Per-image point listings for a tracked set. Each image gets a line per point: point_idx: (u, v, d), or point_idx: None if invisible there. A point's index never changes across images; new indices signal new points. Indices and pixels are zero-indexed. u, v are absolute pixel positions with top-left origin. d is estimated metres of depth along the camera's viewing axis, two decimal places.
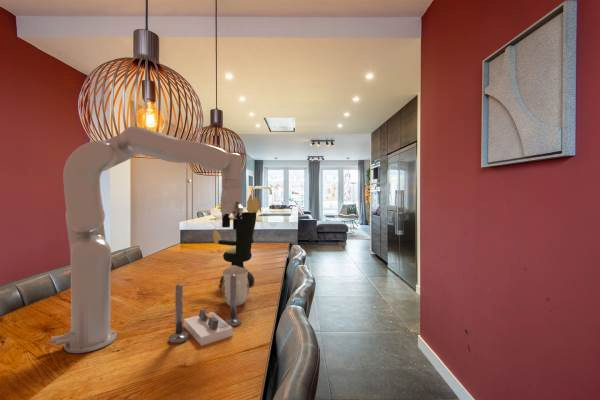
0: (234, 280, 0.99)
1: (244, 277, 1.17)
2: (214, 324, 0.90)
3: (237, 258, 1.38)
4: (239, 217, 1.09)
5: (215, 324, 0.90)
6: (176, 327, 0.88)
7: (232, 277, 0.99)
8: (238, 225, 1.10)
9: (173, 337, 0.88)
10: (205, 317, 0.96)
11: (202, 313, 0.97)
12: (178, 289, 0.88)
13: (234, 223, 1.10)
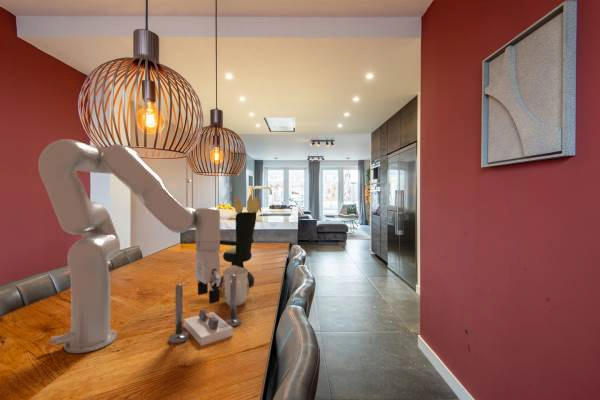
0: (234, 280, 0.99)
1: (244, 277, 1.17)
2: (214, 324, 0.90)
3: (237, 258, 1.38)
4: (216, 288, 0.89)
5: (215, 324, 0.90)
6: (176, 327, 0.88)
7: (232, 277, 0.99)
8: (215, 297, 0.90)
9: (173, 337, 0.88)
10: (205, 317, 0.96)
11: (202, 313, 0.97)
12: (178, 289, 0.88)
13: (210, 295, 0.90)
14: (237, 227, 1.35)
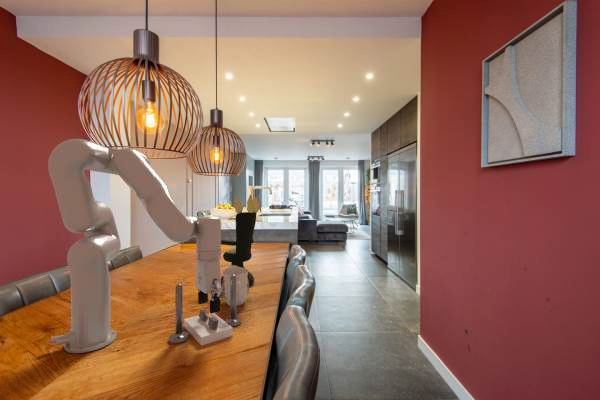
0: (234, 280, 0.99)
1: (244, 277, 1.17)
2: (214, 324, 0.90)
3: (237, 258, 1.38)
4: (217, 298, 0.89)
5: (215, 324, 0.90)
6: (176, 327, 0.88)
7: (232, 277, 0.99)
8: (216, 307, 0.89)
9: (173, 337, 0.88)
10: (205, 317, 0.96)
11: (202, 313, 0.97)
12: (178, 289, 0.88)
13: (211, 305, 0.89)
14: (237, 227, 1.35)
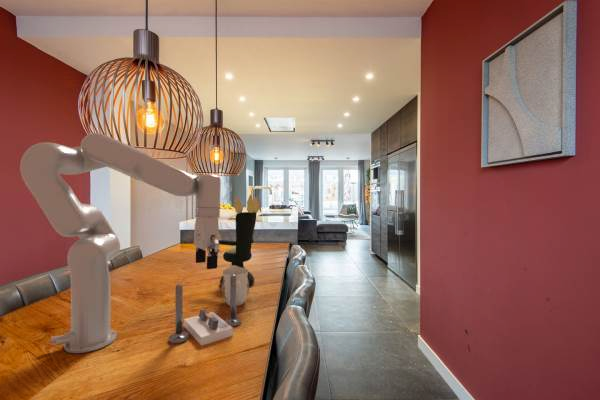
0: (234, 280, 0.99)
1: (244, 277, 1.17)
2: (214, 324, 0.90)
3: (237, 258, 1.38)
4: (214, 254, 0.89)
5: (215, 324, 0.90)
6: (176, 327, 0.88)
7: (232, 277, 0.99)
8: (213, 263, 0.90)
9: (173, 337, 0.88)
10: (205, 317, 0.96)
11: (202, 313, 0.97)
12: (178, 289, 0.88)
13: (208, 261, 0.89)
14: (237, 227, 1.35)
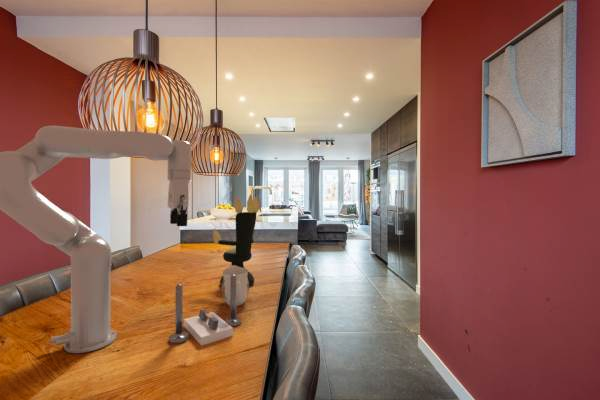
0: (234, 280, 0.99)
1: (244, 277, 1.17)
2: (214, 324, 0.90)
3: (237, 258, 1.38)
4: (183, 212, 0.97)
5: (215, 324, 0.90)
6: (176, 327, 0.88)
7: (232, 277, 0.99)
8: (183, 221, 0.97)
9: (173, 337, 0.88)
10: (205, 317, 0.96)
11: (202, 313, 0.97)
12: (178, 289, 0.88)
13: (178, 219, 0.97)
14: (237, 227, 1.35)
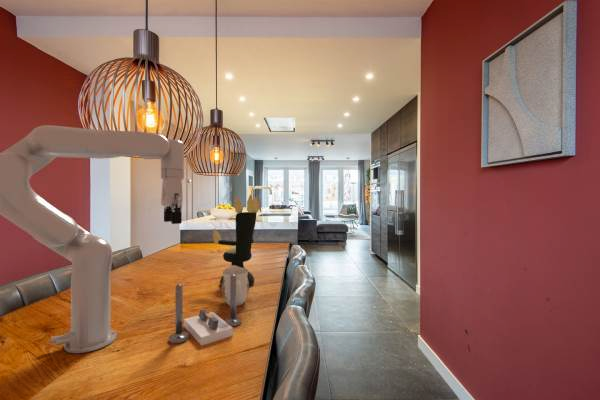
0: (234, 280, 0.99)
1: (244, 277, 1.17)
2: (214, 324, 0.90)
3: (237, 258, 1.38)
4: (178, 210, 0.99)
5: (215, 324, 0.90)
6: (176, 327, 0.88)
7: (232, 277, 0.99)
8: (177, 219, 1.00)
9: (173, 337, 0.88)
10: (205, 317, 0.96)
11: (202, 313, 0.97)
12: (178, 289, 0.88)
13: (173, 216, 0.99)
14: (237, 227, 1.35)
